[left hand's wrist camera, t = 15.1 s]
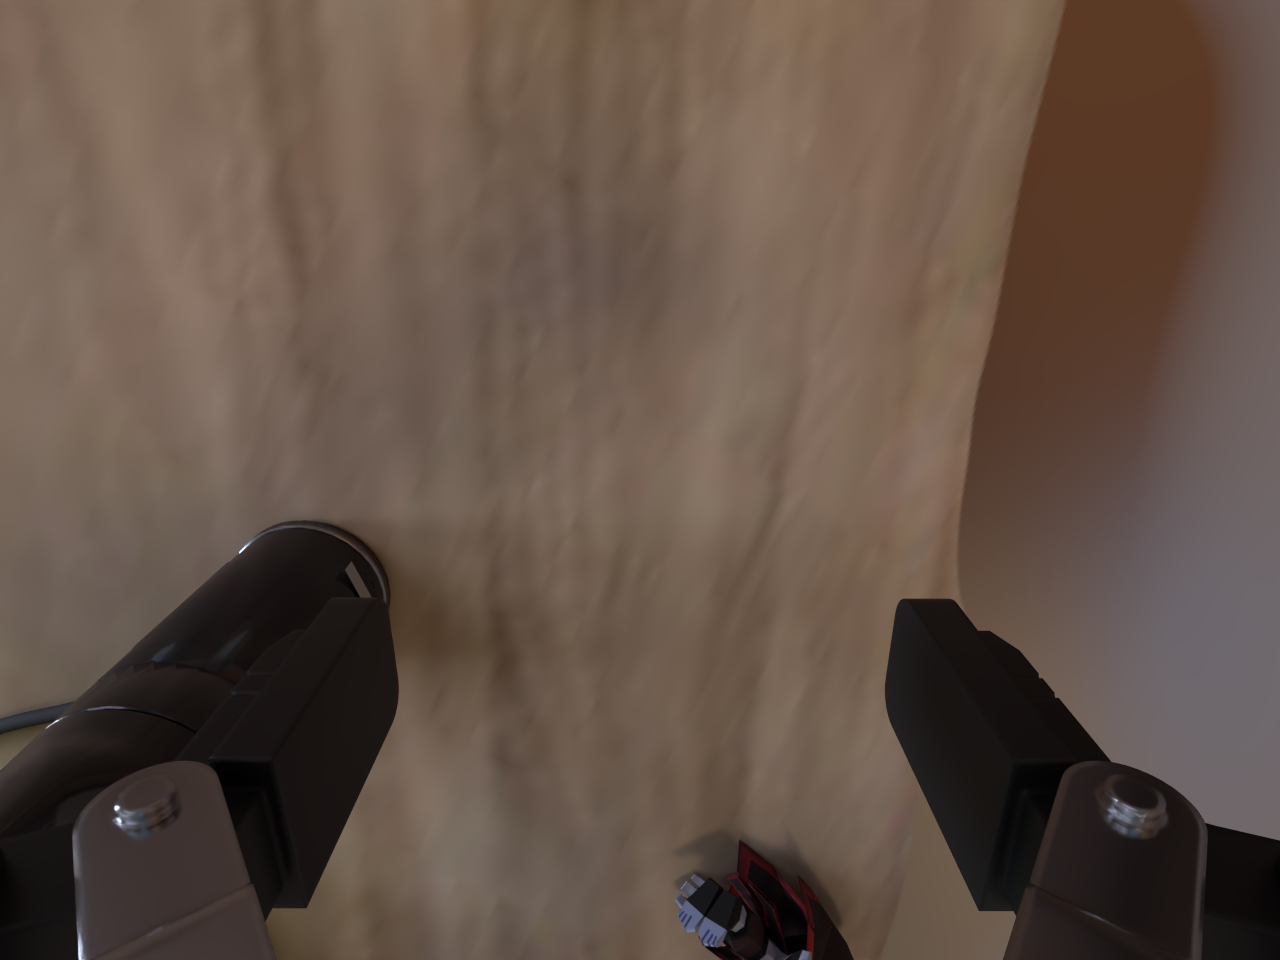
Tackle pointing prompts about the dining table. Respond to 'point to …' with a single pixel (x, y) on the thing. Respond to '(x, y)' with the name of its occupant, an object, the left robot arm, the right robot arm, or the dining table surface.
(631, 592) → the dining table surface
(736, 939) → the toy
